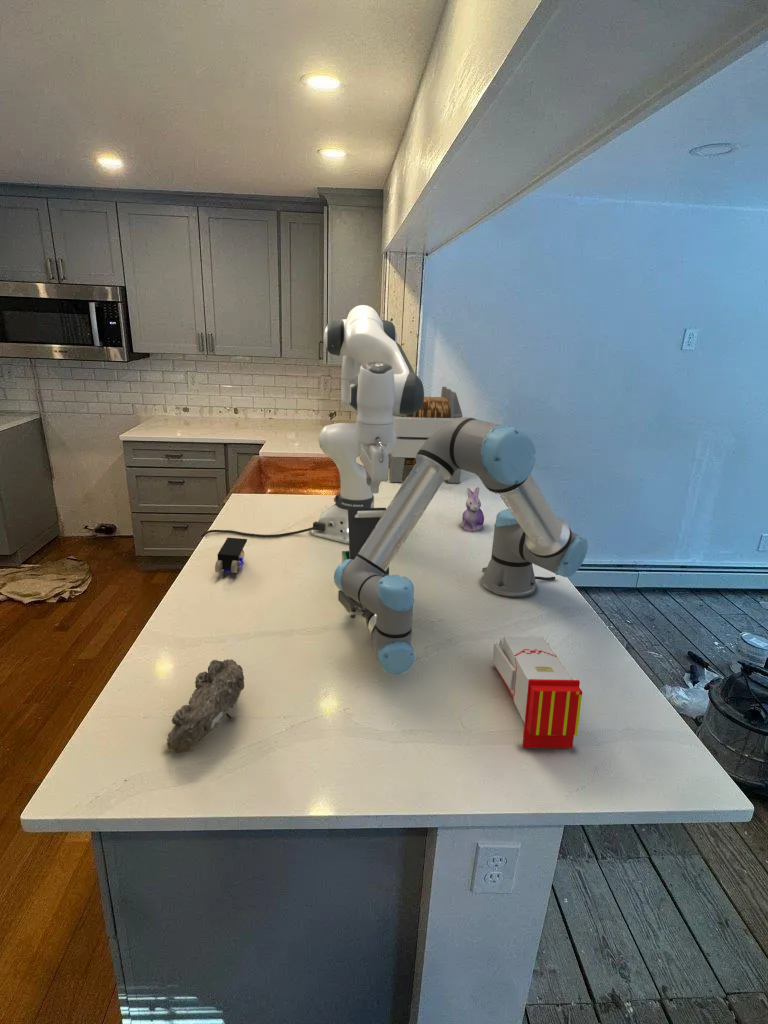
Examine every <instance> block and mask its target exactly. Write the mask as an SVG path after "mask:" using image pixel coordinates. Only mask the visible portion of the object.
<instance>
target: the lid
mask: <svg viewBox="0 0 768 1024" xmlns="http://www.w3.org/2000/svg"><path fill="white" fill-rule="evenodd" d="M386 509H387V507H374V508H352V509H348V531H349V543H348V551H349V556H350V559H352V560H354V559H355V557H356V556H357V554H358V553H359V551H360V550H361V548H362V546H363V545H364V543H365V542H366V540H367V539H368V537H369V536H370V534H371V532H372V531H373V529H374V528H375V526H376V525H377V523H378V522H379V520H380V519H381V517H382V515H383V514H384V512H385V511H386ZM385 574H389V575H390V566H389V567H388V569H387V570H386V572H385Z"/></svg>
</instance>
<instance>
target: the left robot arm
mask: <svg viewBox="0 0 768 1024" xmlns="http://www.w3.org/2000/svg"><path fill="white" fill-rule="evenodd" d="M323 343H324V346H325V348H326V351H327V352H328V353H329V354H330V355H333V356H337V357H340V356H342V363H341V373H340V374H341V375H340V379H341V380H340V390H341V391H340V400H341V404H342V406H343V407H344V408H345V409H347V410H348V411H349V412H352V413H354V414H356V419H355V421H356V422H337V423H331V424H327V425H324V427H322V429H321V430H320V432H319V435H318V444H319V447H320V450H321V451H322V452H323V454H325V455H326V456H327V457H329V458H330V459H331V460H332V462H333V463H334V464H335V466H336V467H337V470H338V474H339V483H340V484H339V485H340V488H339V489H340V490H339V491H338V492H337V494H336V495H335V496H334V497H333V502H334V504H333V505H331V506H329V507H328V508H326V509H325V510H323V512H321V514H320V515H319V517H318V521H314V522H312V527H308V528H304V529H300V530H296V531H289V532H285V533H277V534H260V533H259V534H258V533H249V532H242V531H237V530H232V529H231V530H230V529H209V530H206V531H205V532H203V533H202V534H201V535H200V537H201V538H204V537H205V536H207V535H208V534H211V533H222V534H223V533H224V534H225V533H226V534H228V533H229V534H236V535H240V536H247V537H254V538H279V537H286V536H292V535H298V534H301V533H305V532H309V531H310V533H311V536H315V537H319V538H323V539H326V540H330V541H336V542H339V543H343V544H349V531H348V509H352V508H375V496H374V494H379V492H380V485H381V483H383V482H384V483H386V482H388V480H389V474H390V467H389V455H388V454H389V453H391V452H392V451H393V449H394V448H395V446H396V441H397V437H396V433H395V431H394V429H393V416H392V414H402V415H413V414H414V413H415V412H417V411H418V410H419V409H420V408H421V407H422V405H423V402H424V397H425V388H424V383H423V381H422V380H421V378H420V377H419V376H418V375H417V374H416V372H415V371H414V368H413V367H412V365H411V362H410V360H409V359H408V357H407V354H406V353H405V351H404V349H403V348H402V346H401V344H400V343H398V334H397V330H396V327H395V325H394V323H393V321H389V320H386V319H381V318H380V316H379V314H378V312H377V311H376V310H375V309H374V307H372V306H369V305H366V304H360V305H357V306H355V307H353V308H352V309H351V310H350V311H349V312H348V315H347V317H346V318H345V319H344V318H343V319H341V318H336V319H333V320H330V321H329V322H327V324H326V326H325V329H324V331H323ZM358 457H359V461H360V462H361V464H360V463H359V462H357V458H358Z"/></svg>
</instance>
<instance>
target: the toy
mask: <svg viewBox="0 0 768 1024" xmlns="http://www.w3.org/2000/svg"><path fill="white" fill-rule="evenodd" d="M491 662H492V663H493V665H494V667H495V669H496V671H497V673H498V675H499V676H500V678H501V680H502V683H503V684H504V686H505V688H506V689H507V691H508V693H509V695H510V697H511V698H512V700H513V702H514V705H515V707H516V709H517V711H518V713H519V715H520V717H521V719H522V722H523V724H524V725H523V736H522V748H524V749H573V747H574V738H575V736H577V737H578V734H579V725H580V717H581V710H582V709H581V708H582V701H583V700H582V699H583V690H582V689H581V688H580V685H581V681H580V679H574V677H573V676H572V675H571V673H570V672H569V670H568V669H567V668H566V667H565V665H564V664H563V662H562V661H561V660H560V658H559V657H558V656H557V654H556V653H555V651H554V650H553V649H552V647H551V645H550V643H549V642H547V640H546V639H545V637H543V636H542V637H541V636H535V637H534V636H503V637H500V638H499V642H498V643H497V642H494V643H493V649H492V657H491Z"/></svg>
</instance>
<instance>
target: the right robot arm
mask: <svg viewBox="0 0 768 1024" xmlns="http://www.w3.org/2000/svg"><path fill="white" fill-rule="evenodd" d="M535 454H536V447H535V443H534V441H533V439H532V437H531V436H530V435H529V434H528V433H527V432H525V431H523V430H521V429H519V428H516V427H514V426H511V425H505V424H504V425H503V424H500V423H494V422H491V421H485V420H481V419H477V418H474V417H469V416H468V417H467V416H462V417H461V418H457V419H454V420H452V421H450V422H448V423H446V424H445V425H443V426H442V427H440V428H439V429H438V430H436V431H435V432H434V433H433V434H432V435H431V436H430V437H429V438H428V439H427V440H426V442H425V443H424V444H423V446H422V447H421V448H420V450H419V451H418V453H417V455H416V456H415V459H416V464H415V466H413V468H412V469H411V470H410V472H409V474H408V475H407V476H406V478H405V480H404V481H403V483H402V484H401V486H400V487H399V489H398V491H397V492H396V493H395V495H394V497H393V499H392V500H391V502H390V503H389V505H388V506H387V507H386V511H385V512H384V514H383V515H382V517H381V519H380V520H379V522H378V523H377V525H376V526H375V528H374V529H373V531H372V532H371V534H370V536H369V537H368V539H367V540H366V542H365V543H364V545H363V546H362V548H361V550H360V551H359V553H358V554H357V556H356V557H355V559H354V560H352V559H347V560H345V561H343V562H342V561H341V563H339V564H338V565H337V566H336V567H335V570H334V572H333V581H334V582H333V583H334V584H335V586H336V587H337V589H338V591H337V593H338V594H337V600H338V602H339V603H340V604H341V605H342V606H343V608H344V609H345V610H346V611H347V612H348V613H349V616H350V618H351V619H355V618H356V616H361V617H363V618H364V620H365V624H366V626H367V629H368V632H369V635H370V638H371V641H372V645H373V647H374V651H375V655H376V660H377V661H378V663H379V665H380V668H381V670H383V672H385V673H386V674H389V675H391V676H399V675H403V674H405V673H407V672H409V671H410V669H412V668H413V666H414V664H415V661H416V654H415V649H414V646H413V645H412V634H413V633H412V631H413V629H412V628H413V626H412V625H413V615H414V613H413V612H414V605H415V597H414V596H415V593H414V592H415V586H414V583H413V582H412V580H411V579H409V578H408V577H406V576H400V575H399V574H390V573H389V574H388V576H385V577H383V575H384V574H385V572H386V570H387V569H388V567H389V568H390V566H391V565H392V562H393V561H394V560H395V558H396V556H397V555H398V553H399V552H400V550H401V548H402V547H403V545H404V544H405V542H406V540H407V539H408V538H409V536H410V534H411V533H412V531H413V529H414V528H415V527H416V525H417V524H418V522H419V520H420V519H421V518H422V516H423V514H424V512H425V511H426V509H427V508H428V506H429V505H430V503H431V502H432V500H433V498H434V497H435V495H436V494H437V492H438V491H439V489H440V487H441V486H442V484H443V483H444V481H446V480H448V479H450V478H451V477H452V475H453V474H454V472H455V471H456V470H458V469H461V471H462V470H463V471H466V472H468V473H472V474H474V475H476V476H477V477H478V478H479V480H480V481H481V483H482V484H483V486H484V488H486V490H487V491H489V492H490V493H494V494H498V495H499V497H500V499H501V500H502V501H503V503H504V504H505V506H506V507H507V508H506V509H502V510H500V511H499V512H498V513H497V514H496V518H495V523H494V525H493V526H494V529H493V539H492V548H491V556H490V557H491V558H490V560H489V561H488V564H487V566H486V567H482V570H481V573H483V575H482V580H481V583H482V586H483V587H484V588H485V589H486V590H487V591H489V592H490V593H493V594H496V595H498V596H501V597H508V598H524V597H525V598H526V597H529V596H530V595H532V594H534V593H535V592H536V586H537V583H536V582H537V581H536V580H542V581H552V580H556V576H560V577H562V578H570V577H572V576H573V575H574V574H576V573H577V572H578V571H579V569H580V567H582V564H583V563H584V561H585V558H586V556H587V553H588V547H589V544H588V543H589V542H588V539H587V538H586V537H585V536H583V535H582V534H579V533H578V534H577V533H575V532H573V531H572V529H571V528H570V526H569V524H568V523H567V522H566V520H565V519H563V518H561V517H559V516H557V515H556V514H555V512H554V510H553V509H552V507H551V505H550V503H549V502H548V500H547V499H546V497H545V495H544V494H543V492H542V490H541V489H540V487H539V484H538V483H537V482H536V480H535V478H534V477H533V474H532V472H533V470H534V467H535V464H536V457H535ZM533 565H535V566H537V567H539V568H541V569H544V570H547V571H549V572H551V573H553V574H555V575H556V576H549V577H547V576H546V577H545V576H535V571H534V567H533ZM358 607H359V608H361V609H359V608H358Z"/></svg>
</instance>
